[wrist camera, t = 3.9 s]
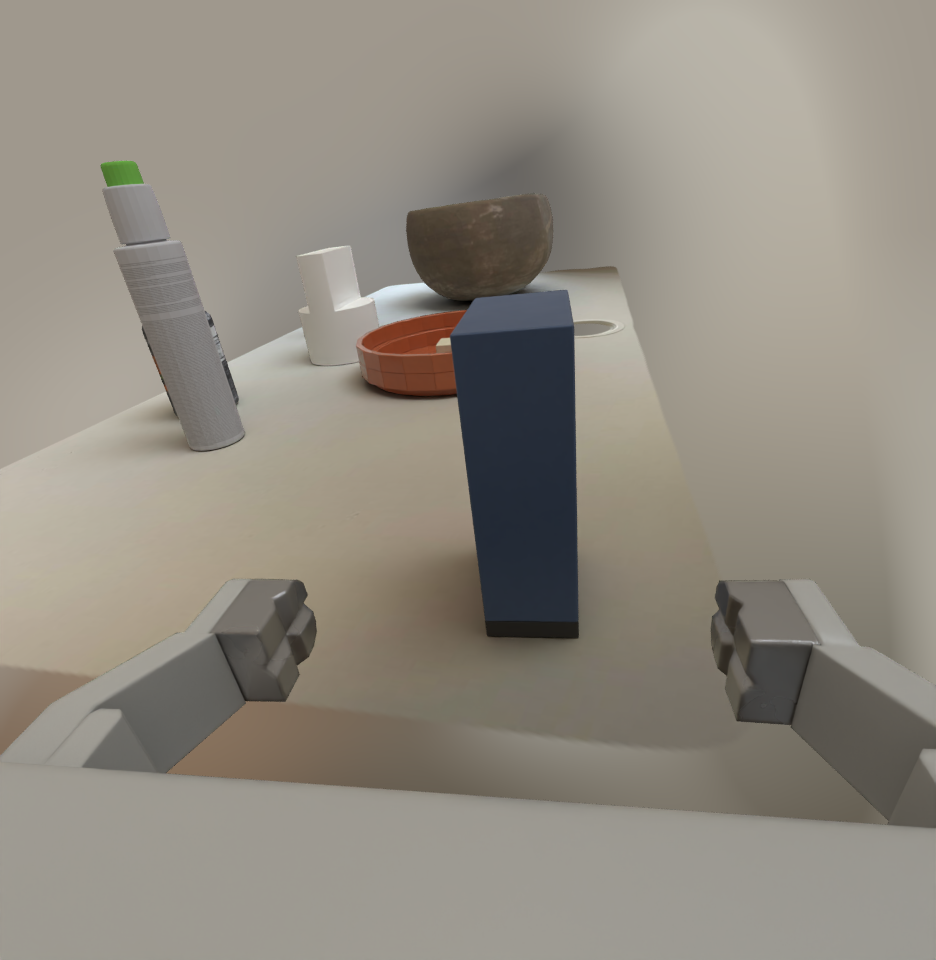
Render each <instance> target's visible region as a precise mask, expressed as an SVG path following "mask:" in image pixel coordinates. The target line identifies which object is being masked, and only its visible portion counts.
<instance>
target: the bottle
mask: <svg viewBox="0 0 936 960" xmlns="http://www.w3.org/2000/svg"><path fill="white" fill-rule="evenodd" d="M101 169H102V172H103V175H104V178H105V181H106V183H107V186H108V187H107V188H104V189H103V195H104V198H105V201H106V204H107V207H108V210H109V213H110V216H111V219H112V222H113V225H114V227H115V230H116V232H117V235H118V237H119V240H120V243H121V244H126V245H127V246H124V247H119V248H115V249H114V254H115V257H116V259H117V261H118V264H119V267H120V269H121V272H122V274H123V277H124V280H125V282H126V285H127V287H128V290H129V292H130V295H131V297H132V300H133V303H134V305H135V308H136V310H137V313H138V315H139V318H140V320H141V323H142V326H143V328H144V331H145V333H146V336H147V338H148V341H149V343H150V346H151V349H152V351H153V354H154V356H155V359H156V361H157V364H158V367H159V369H160V372H161V374H162V377H163V379H164V382H165V384H166V387H167V390H168V392H169V395H170V397H171V400H172V402H173V405H174V407H175V410H176V413H177V415H178V418H179V420H180V423H181V425H182V428H183V430H184V433H185V436H186V438H187V441H188V443H189V446H190V448H191V449H193V450H198V451H205V450H213V449H218V448H222V447H225V446H228V445H230V444H233V443H235V442H237V441H238V440H240V439H241V438H242V437H243V436H244V433H245V431H244V428H243V425H242V422H241V419H240V416H239V413H238V410H237V407H236V404H235V401H234V398H233V395H232V392H231V389H230V386H229V383H228V380H227V377H226V374H225V371H224V368H223V365H222V362H221V359H220V356H219V353H218V350H217V347H216V344H215V341H214V338H213V335H212V332H211V329H210V326H209V323H208V320H207V317H206V314H205V311H204V308H203V305H202V302H201V299H200V296H199V293H198V290H197V287H196V284H195V281H194V278H193V275H192V272H191V269H190V266H189V263H188V260H187V257H186V254H185V251H184V248H183V245H182V242H181V241H178V240H177V241H167V240H166V239H169V238H170V235H169V232H168V229H167V226H166V223H165V220H164V217H163V214H162V212H161V209H160V206H159V204H158V201H157V199H156V197H155V194H154V192H153V189H152V187H151V186H150V185H148V184H144V183H143V180H142V177H141V174H140V172H139V169H138V166H137V164H136V163H135V162H133V161H116V162H107V163H103V164H101Z"/></svg>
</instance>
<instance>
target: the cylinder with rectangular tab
mask: <svg viewBox="0 0 936 960" xmlns="http://www.w3.org/2000/svg"><path fill="white" fill-rule="evenodd" d="M296 258H297V262H298V266H299V270H300V274H301V279H302V283H303V287H304V291H305V295H306V299H307V303H308V306H306V307H304V308H301V309H300V310H299V316H300V320H301V324H302V328H303V332H304V336H305V340H306V344H307V348H308V352H309V356H310V360H311V362H312V363H313V364H316V365H323V366H332V365H343V364H349V363H355V362H359V359H358V354H357V349H356V343H357V340H358V339H359V338H360V337H361V336H363V335H364V334H365V333H367V332H369V331H372V330H374V329H376V328H379V323H378V317H377V312H376V307H375V301H374V299H373V298H367V297H361V296H360V291H359V287H358V281H357V276H356V271H355V266H354V261H353V256H352V251H351V246H340V247H332V248H326V249H322V250H318V251H314V252H310V253H307V254H303V255H299V256H296Z"/></svg>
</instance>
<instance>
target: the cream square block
mask: <svg viewBox="0 0 936 960" xmlns="http://www.w3.org/2000/svg"><path fill="white" fill-rule="evenodd" d="M443 352H452V350H451V342H450V338H441V339H440V341H439V342H438V343H437V345H436V353H443Z"/></svg>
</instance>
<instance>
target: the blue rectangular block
mask: <svg viewBox="0 0 936 960" xmlns="http://www.w3.org/2000/svg"><path fill="white" fill-rule="evenodd" d="M450 342H451V350H452V358H453V366H454V374H455V382H456V390H457V398H458V406H459V414H460V422H461V430H462V438H463V446H464V454H465V462H466V470H467V478H468V486H469V494H470V502H471V510H472V518H473V526H474V534H475V542H476V550H477V558H478V566H479V574H480V582H481V590H482V598H483V606H484V614H485V623H486V631H487V636H514V637H567V638H578V637H579V622H578V554H577V488H576V421H575V355H574V323H573V318H572V312H571V306H570V300H569V295H568V291H567V290H558V291H547V292H536V293H525V294H514V295H503V296H492V297H482V298H475V299H474V301H473V302H472V304H471V305H470V307H469V308H468V309H467V311H466V312H465V314H464V315H463V317H462V318H461V320H460V321H459V323H458V324H457V326H456V327H455V329H454V330H453V332H452V333H451V335H450Z"/></svg>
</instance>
